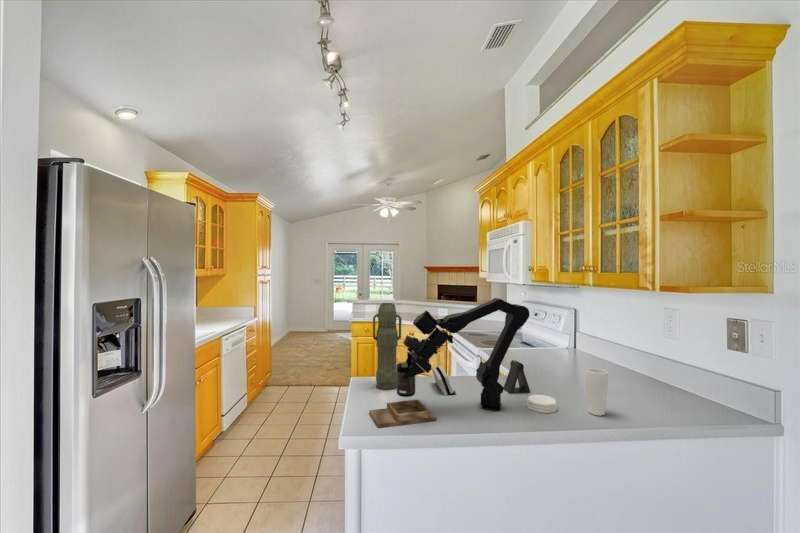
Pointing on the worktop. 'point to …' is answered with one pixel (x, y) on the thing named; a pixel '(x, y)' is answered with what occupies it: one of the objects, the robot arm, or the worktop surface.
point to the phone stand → (513, 375)
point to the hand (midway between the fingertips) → (402, 375)
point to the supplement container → (405, 381)
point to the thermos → (386, 346)
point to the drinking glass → (597, 390)
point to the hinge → (442, 380)
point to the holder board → (402, 414)
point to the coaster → (542, 403)
